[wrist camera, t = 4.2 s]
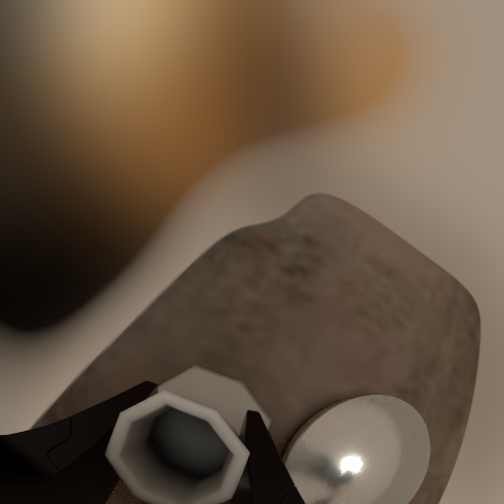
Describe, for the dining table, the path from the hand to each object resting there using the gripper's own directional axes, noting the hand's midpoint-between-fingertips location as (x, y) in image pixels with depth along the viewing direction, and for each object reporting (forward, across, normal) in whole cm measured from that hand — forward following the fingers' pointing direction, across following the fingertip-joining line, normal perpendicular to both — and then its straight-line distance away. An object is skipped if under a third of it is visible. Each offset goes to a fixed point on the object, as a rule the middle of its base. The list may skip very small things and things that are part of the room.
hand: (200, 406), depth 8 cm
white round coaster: (+3, -9, +6) cm, 11 cm away
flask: (+4, 0, +6) cm, 7 cm away
